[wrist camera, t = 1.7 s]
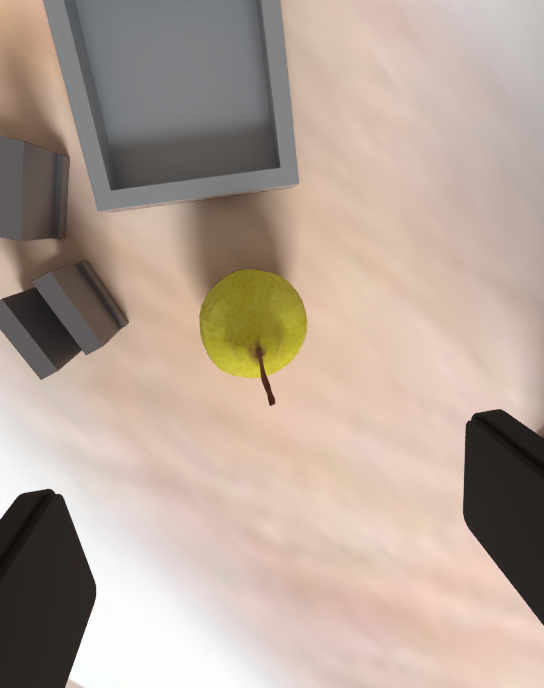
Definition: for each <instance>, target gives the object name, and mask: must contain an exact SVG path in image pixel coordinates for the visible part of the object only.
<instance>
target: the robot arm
mask: <svg viewBox="0 0 544 688" xmlns="http://www.w3.org/2000/svg"><path fill="white" fill-rule="evenodd" d="M463 515H464V519H465V522H466V524H467V526H468V528H469V529H470V531H471V532H472V533H473V535H474V536H475V537H476V538H477V540H478V541H479V542H480V544H481V545H482V546H483V548H484V549H485V550H486V551H487V553H488V554H489V555H490V557H491V558H492V559H493V560H494V562H495V563H496V564H497V566H498V567H499V568H500V570H501V571H502V572H503V573H504V575H505V576H506V577H507V579H508V580H509V581H510V582H511V584H512V585H513V586H514V588H515V589H516V590H517V592H518V593H519V594H520V595H521V597H522V598H523V599H524V601H525V602H526V603H527V604H528V606H529V607H530V608H531V610H532V611H533V612H534V614H535V615H536V616H537V617H538V619H539V620H540V621H541V623H542V624H543V625H544V439H543V438H542V437H541V436H539V435H538V434H536V433H535V432H533V431H532V430H531V429H529V428H528V427H526V426H525V425H523V424H522V423H521V422H519V421H518V420H516V419H515V418H513V417H512V416H511V415H509V414H508V413H506V412H505V411H503V410H501V409H497V410H491V411H485V412H480V413H475V414H474V415H473V416H472V419H471V421H468V422H467V424H466V436H465V467H464V498H463ZM95 599H96V584H95V581H94V578H93V575H92V573H91V570H90V567H89V565H88V562H87V559H86V557H85V554H84V551H83V549H82V546H81V543H80V541H79V538H78V535H77V533H76V530H75V527H74V524H73V522H72V519H71V516H70V514H69V511H68V508H67V506H66V503H65V500H64V498H63V496H62V495H61V494H55V492H54V491H53V490H52V489H45V490H39V491H33V492H28V493H23V494H20V495H19V496H18V497H17V498H16V500H15V501H14V502H13V503H12V505H11V506H10V507H9V509H8V510H7V511H6V513H5V514H4V515H3V517H2V518H1V519H0V688H65V686H66V683H67V680H68V678H69V675H70V672H71V669H72V666H73V663H74V660H75V657H76V655H77V652H78V649H79V646H80V643H81V640H82V637H83V634H84V632H85V629H86V626H87V623H88V620H89V617H90V614H91V611H92V609H93V606H94V603H95Z"/></svg>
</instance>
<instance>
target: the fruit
mask: <svg viewBox="0 0 544 688" xmlns="http://www.w3.org/2000/svg"><path fill="white" fill-rule="evenodd" d="M306 332H307V318H306V312H305V308H304V304H303V301H302V299H301V298H300V296H299V294H298V293H297V291H296V290H295V289H294V288H293V286H292V285H291V284H290V283H289V282H288V281H287V280H285V279H284V278H282V277H280V276H279V275H277V274H273V273H269V272H266V271H260V270H252V269H243V270H239V271H235V272H233V273H231V274H229V275H228V276H226V277H224V278H223V279H222V280H221V281H220V282H219V283H218V284H216V285H215V286H214V287H213V289H212V290H211V291H210V292H209V293H208V295H207V296H206V298H205V300H204V302H203V303H202V306H201V311H200V333H201V338H202V342H203V345H204V347H205V349H206V351H207V353H208V355H209V357H210V358H211V360H212V362H213V363H214V364H215V365H216V366H217V367H218V368H219V369H220V370H222V371H224V372H226V373H229V374H231V375H234V376H239V377H246V378H261V379H262V382H263V385H264V388H265V390H266V392H267V395H268V400H269V405H270V406H272V405H274V404H275V398H274V396H273V394H272V391H271V387H270V384H269V381H268V379H267V376H268V375H271V374H273V373H275V372H277V371H279V370H280V369H282V368H283V367H285V366H286V365H287V364H288V363H290V362H291V361H292V360H293V359H294V357H295V356H296V355H297V353H298V352H299V350H300V348H301V346H302V344H303V342H304V339H305V336H306Z"/></svg>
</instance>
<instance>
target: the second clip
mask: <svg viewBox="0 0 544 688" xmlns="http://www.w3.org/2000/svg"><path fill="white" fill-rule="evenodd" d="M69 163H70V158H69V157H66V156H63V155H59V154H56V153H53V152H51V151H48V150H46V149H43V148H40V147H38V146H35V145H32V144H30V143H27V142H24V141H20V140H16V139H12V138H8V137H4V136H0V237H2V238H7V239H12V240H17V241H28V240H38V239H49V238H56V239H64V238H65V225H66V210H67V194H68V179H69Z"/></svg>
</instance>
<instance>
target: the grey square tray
mask: <svg viewBox="0 0 544 688" xmlns="http://www.w3.org/2000/svg"><path fill="white" fill-rule="evenodd" d="M43 2H44V6H45V9H46V13H47V17H48V21H49V25H50V29H51V33H52V36H53V40H54V44H55V48H56V52H57V56H58V59H59V63H60V67H61V71H62V75H63V79H64V82H65V86H66V90H67V94H68V98H69V102H70V106H71V109H72V113H73V117H74V121H75V125H76V129H77V132H78V136H79V140H80V144H81V148H82V152H83V155H84V159H85V163H86V167H87V171H88V175H89V179H90V182H91V186H92V190H93V194H94V198H95V202H96V205H97V209H98V211H104V212H117V211H125V210H132V209H139V208H147V207H154V206H161V205H168V204H176V203H183V202H190V201H197V200H205V199H212V198H219V197H226V196H234V195H241V194H248V193H255V192H263V191H270V190H277V189H284V188H292V187H294V186H295V185H297V184H299V177H298V168H297V158H296V148H295V139H294V129H293V119H292V110H291V100H290V90H289V81H288V71H287V61H286V52H285V42H284V32H283V23H282V13H281V3H280V0H43Z"/></svg>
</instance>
